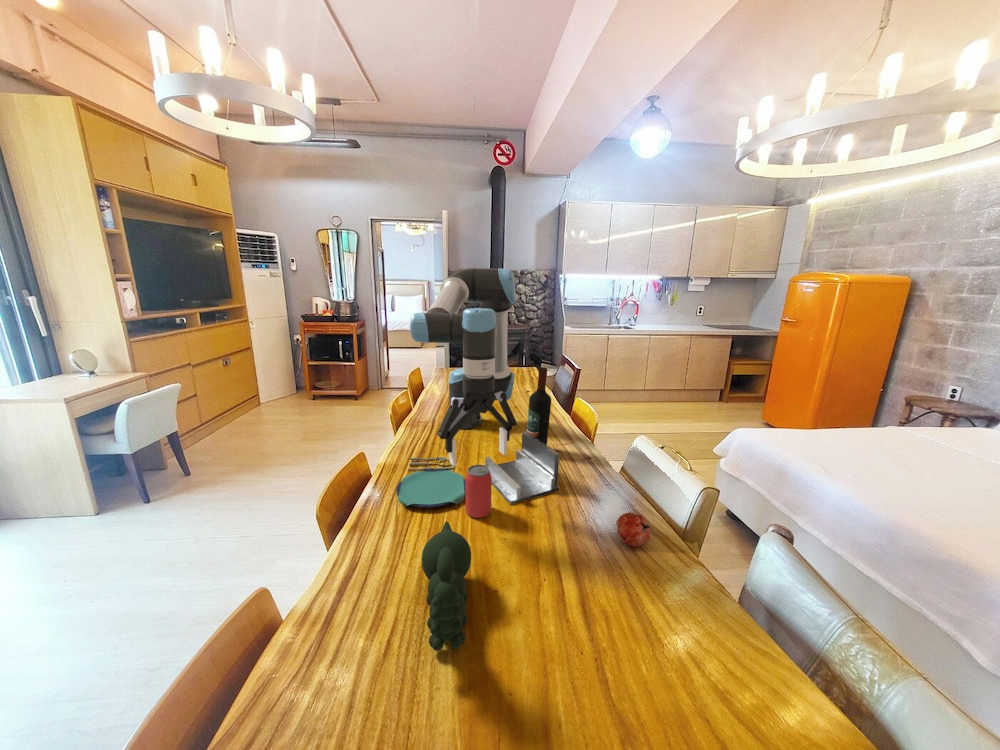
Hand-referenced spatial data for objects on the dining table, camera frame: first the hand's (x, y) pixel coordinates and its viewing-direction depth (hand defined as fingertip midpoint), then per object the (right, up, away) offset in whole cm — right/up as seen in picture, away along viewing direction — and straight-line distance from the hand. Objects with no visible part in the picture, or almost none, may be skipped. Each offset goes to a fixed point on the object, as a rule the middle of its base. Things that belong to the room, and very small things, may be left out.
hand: (478, 458), depth 92 cm
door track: (+11, -11, +19) cm, 25 cm away
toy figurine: (-4, -22, -24) cm, 33 cm away
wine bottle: (+18, -6, +39) cm, 44 cm away
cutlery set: (-15, -12, +18) cm, 26 cm away
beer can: (0, -15, +4) cm, 16 cm away
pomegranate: (+36, -18, -6) cm, 40 cm away
